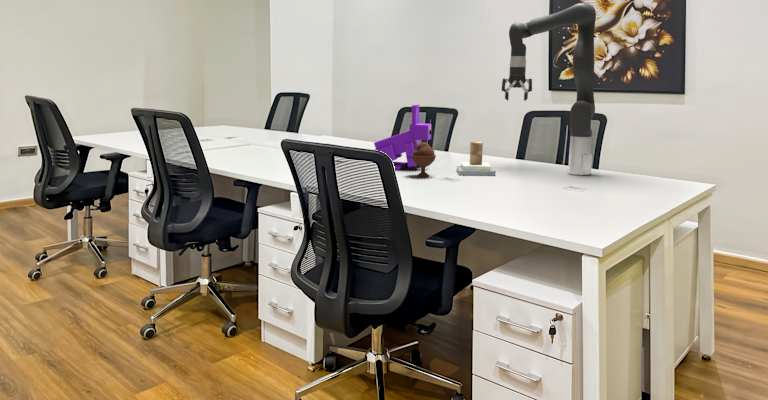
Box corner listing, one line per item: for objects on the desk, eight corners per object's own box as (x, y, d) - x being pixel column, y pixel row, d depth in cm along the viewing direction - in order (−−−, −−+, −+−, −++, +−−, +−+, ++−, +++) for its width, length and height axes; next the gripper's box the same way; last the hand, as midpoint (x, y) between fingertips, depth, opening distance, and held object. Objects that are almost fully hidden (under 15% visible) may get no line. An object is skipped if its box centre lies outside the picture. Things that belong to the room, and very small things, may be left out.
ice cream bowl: (405, 175, 283) (406, 142, 280) (423, 173, 290) (423, 140, 287) (422, 178, 275) (423, 144, 272) (440, 176, 282) (441, 142, 279)
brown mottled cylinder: (480, 163, 294) (481, 141, 292) (481, 165, 289) (482, 143, 287) (469, 163, 294) (470, 141, 292) (470, 164, 289) (471, 143, 287)
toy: (428, 171, 296) (429, 106, 290) (370, 168, 303) (370, 105, 297) (433, 167, 309) (434, 104, 303) (377, 164, 316) (378, 103, 310)
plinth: (490, 170, 300) (490, 161, 299) (495, 175, 284) (495, 166, 284) (456, 169, 300) (456, 161, 300) (459, 175, 285) (459, 166, 284)
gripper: (504, 66, 300) (502, 100, 304) (534, 66, 300) (532, 101, 303) (501, 66, 308) (500, 100, 311) (531, 66, 307) (529, 100, 311)
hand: (516, 100), depth 307 cm, fingers open, 8 cm apart
